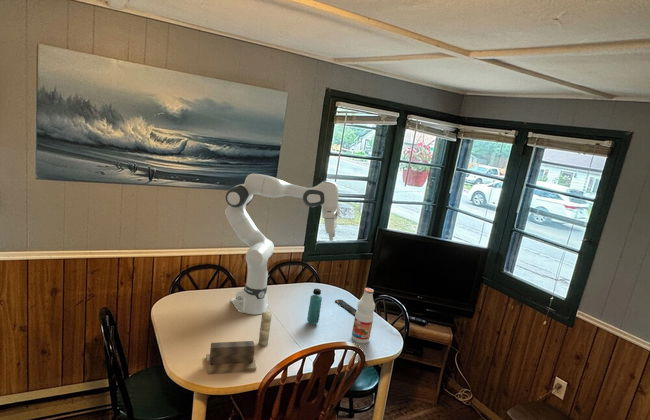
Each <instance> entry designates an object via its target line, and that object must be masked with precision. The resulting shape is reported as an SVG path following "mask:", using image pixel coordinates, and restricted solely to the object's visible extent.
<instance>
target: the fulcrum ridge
mask: <svg viewBox="0 0 650 420" xmlns="http://www.w3.org/2000/svg"><path fill="white" fill-rule="evenodd" d="M255 347H256V346H255V342H254V340H246V341H245V340H244V341H243V340H242V341H222V342H218V341H217V342H211V343H210V349H209V354H208V353H207V354H206V355H205V358H206V359H205V360H206V369H207V370H208V371H207V374H208V375H213V374H214V375H215V374H217V373H218V374H227V373H228V374H230V373H231V374H232V373H243V372H245V373H247V372H257V365H256V360H255V358H254V355H255V349H256V348H255Z"/></svg>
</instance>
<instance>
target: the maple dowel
mask: <svg viewBox="0 0 650 420" xmlns="http://www.w3.org/2000/svg"><path fill="white" fill-rule="evenodd" d="M272 315H273V314H272V312H271V311H267V310H266V311H265V312H263V313H262V314H261V321H260V328H259V333H258V334H259V336H258V342H257V343H258V346H260V347H261V348H265V347H268V346H269V345H268V344H269V337H270V329H271V321H272Z"/></svg>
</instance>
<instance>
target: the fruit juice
mask: <svg viewBox="0 0 650 420" xmlns="http://www.w3.org/2000/svg"><path fill="white" fill-rule="evenodd" d="M374 292H375V291H374V289H373V288H372V287H371V288H370V287H365V288H364V290H363V294H362V297H361V298H360V299H358V302H357V308H356V310H357V311H356V314H355V316H354V320H353V326H352V330H351V331H352V332H351V339H352V341H354V342H355V343H358V344H367V343H368V342H369V341H370V337H371V333H372V328H373V323H374V312H375V309H376V304H375V302H374V296H373V294H374Z"/></svg>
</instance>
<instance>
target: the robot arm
mask: <svg viewBox="0 0 650 420" xmlns="http://www.w3.org/2000/svg"><path fill="white" fill-rule="evenodd" d="M255 195H258V196H261V197H265V198H280V197H294V198H299V199H302V201H303V203H304V204H305V205H306V206H308V207H310V208H315V207H318V206H321V212H322V213H321V214H322V218H323V220H324V227H325V233H326V234H328V238H329V239H328V240H329V242H332V241H333V242H334V238H335V236H336V234H335V233H336V228H337V226H338V225H337V224H338V223H337V219H338V217H339V216H340V205H339V188H338V185H337V183H336V182H334V181H330V180H323V181H321V182H320V183H319V184H317V185H316V186H315V185H314V186H311V187H307V186H303V185H302V186H301V185H297V184H294V183H293V184H292V183H290V182H287V181H284V180H282V179H280V178H277V177H274V176H271V175H266V174H260V173H250V174H248V175H247V176H246V178H245V180H244V183H241V184H237V185H234V186H233V187H230V188H229V189H228V190H227V192H226V193H225V201H226V203H227V205H228V206H227V207H226V208H225V210H224V214H225V216H226V219H227V221H228V223H229V225H230V227H231V228H232V229H233V231H234V233H235V234H236V236H237V238H238V239H239V240H240V241H241V242H243V243H244V244H246V246H248V247H249V248H248V250H247V251H246V254H245V261H246V265H247V266H246V267H247V276H246V282H243V286H244V287H243V288H242V289H240V290H238V291H237V292H236V295H235V297H233V298H231V300H230V301H231V303H232V305H233V306H234V308H236V310H237V311H238V313H241V314H247V315H262V313H263V312H265V311H267V309H268V307H269V303H268V293H267V291H268V278H269V277H268V276H269V271H268V260H269V258H270V257H272V255H273V253H274V251H275V245H274V242H273V241H271V239H268V238H267V237H266V236H265V235H264V233H262V232H261V231H260V230H259V228H258V227H257V226H256V224H255V222H254V221H253V219H252V218H251V216H250V215H249V213H248V212H247V210H246V207H247V206H249V204H251V202H252V201H253V199H254V197H255Z"/></svg>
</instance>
